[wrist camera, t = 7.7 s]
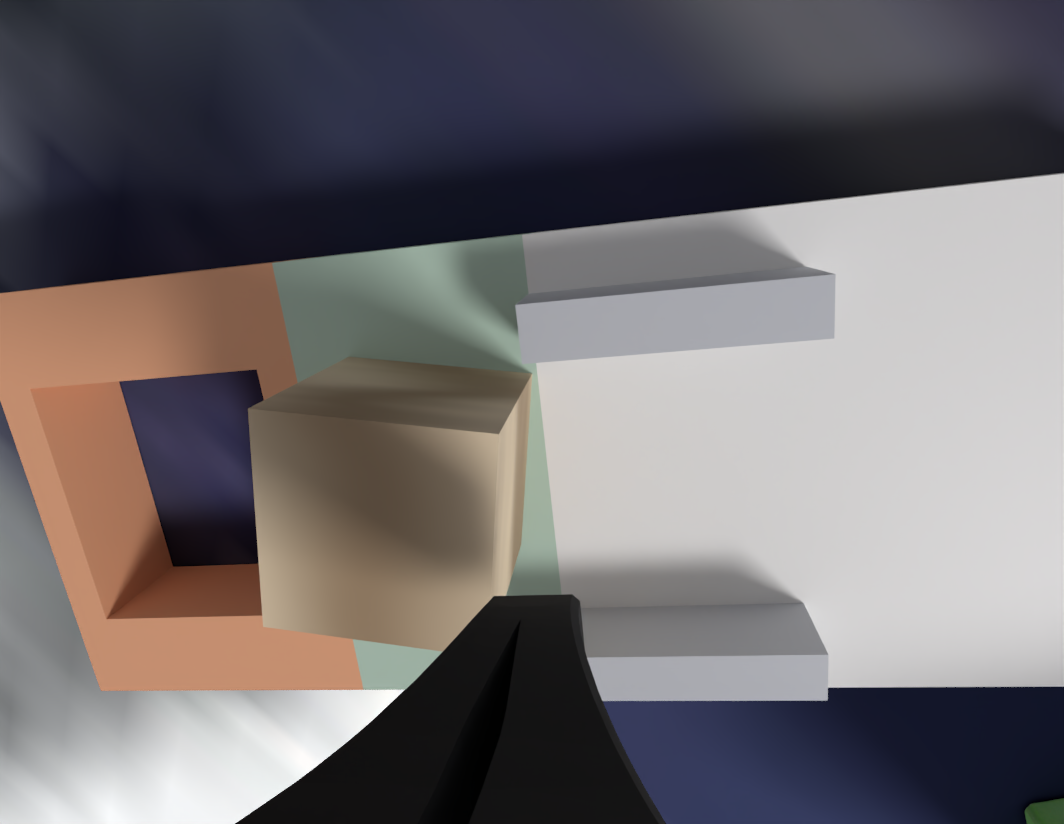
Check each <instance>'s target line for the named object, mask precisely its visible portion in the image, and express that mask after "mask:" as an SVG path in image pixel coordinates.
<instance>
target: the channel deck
mask: <svg viewBox="0 0 1064 824" xmlns="http://www.w3.org/2000/svg"><path fill="white" fill-rule="evenodd" d="M347 357H358V358H369V359H380V360H391V361H402V362H412V363H423V364H434V365H445V366H456V367H467V368H478V369H489V370H500V371H511V372H522V373H532V386H531V402H530V417H529V433H528V448H527V464H526V479H525V494H524V510H523V525H522V541H521V547H520V550H519V554H518V557H517V560H516V564H515V567H514V570H513V574H512V577H511V581H510V584H509V587H508V591H507V594H506V596H519V595H563V594H573V595H574V596H575V597H576V598H577V599H578V600H579V601H580V605H581V615H582V625H583V635H584V645H585V652H586V656H587V659H588V662H589V665H590V668H591V671H592V674H593V677H594V680H595V683H596V686H597V689H598V691H599V694H600V696H601V699H602V701H828V688H849V687H1064V173H1056V174H1047V175H1038V176H1029V177H1020V178H1011V179H1003V180H994V181H985V182H976V183H967V184H958V185H949V186H941V187H932V188H923V189H914V190H905V191H896V192H887V193H879V194H870V195H861V196H852V197H843V198H834V199H825V200H817V201H808V202H799V203H790V204H781V205H772V206H763V207H755V208H746V209H737V210H728V211H719V212H710V213H701V214H693V215H684V216H675V217H666V218H657V219H648V220H639V221H631V222H622V223H613V224H604V225H595V226H586V227H577V228H569V229H560V230H551V231H542V232H533V233H524V234H515V235H507V236H498V237H489V238H480V239H471V240H462V241H453V242H445V243H436V244H427V245H418V246H409V247H400V248H391V249H383V250H374V251H365V252H356V253H347V254H338V255H329V256H321V257H312V258H303V259H294V260H285V261H276V262H267V263H259V264H250V265H241V266H232V267H223V268H214V269H205V270H196V271H188V272H179V273H170V274H161V275H152V276H143V277H134V278H126V279H117V280H108V281H99V282H90V283H81V284H72V285H64V286H55V287H47V288H39V289H31V290H22V291H14V292H6V293H0V401H1V404H2V406H3V409H4V412H5V415H6V418H7V421H8V424H9V427H10V430H11V432H12V435H13V438H14V441H15V444H16V447H17V450H18V453H19V456H20V458H21V461H22V464H23V467H24V470H25V473H26V476H27V479H28V482H29V484H30V487H31V490H32V493H33V496H34V499H35V502H36V505H37V508H38V510H39V513H40V516H41V519H42V522H43V525H44V528H45V531H46V534H47V536H48V539H49V542H50V545H51V548H52V551H53V554H54V557H55V559H56V562H57V565H58V568H59V571H60V574H61V577H62V580H63V583H64V585H65V588H66V591H67V594H68V597H69V600H70V603H71V606H72V609H73V611H74V614H75V617H76V620H77V623H78V626H79V629H80V632H81V635H82V637H83V640H84V643H85V646H86V649H87V652H88V655H89V658H90V661H91V663H92V666H93V669H94V672H95V675H96V678H97V681H98V684H99V687H100V689H101V691H153V690H385V689H407V688H408V687H409V686H410V685H411V684H412V683H413V682H414V681H415V680H416V679H417V678H418V677H419V676H420V675H421V674H422V673H423V672H424V671H425V670H426V669H427V667H428V666H429V665H430V664H431V663H432V662H433V661H434V660H435V659H436V658H437V657H438V656H439V655H440V654H441V653H442V651H435V650H428V649H420V648H413V647H406V646H399V645H391V644H384V643H377V642H370V641H362V640H355V639H348V638H341V637H333V636H326V635H319V634H312V633H305V632H297V631H290V630H283V629H276V628H268V627H263V618H262V604H261V590H260V575H259V564H237V565H209V566H182V567H173V565H172V561H171V558H170V554H169V551H168V548H167V544H166V541H165V537H164V534H163V530H162V527H161V524H160V520H159V517H158V513H157V510H156V506H155V503H154V500H153V496H152V493H151V489H150V486H149V482H148V479H147V476H146V472H145V469H144V465H143V462H142V459H141V455H140V452H139V448H138V445H137V441H136V438H135V435H134V431H133V428H132V424H131V421H130V417H129V414H128V411H127V407H126V404H125V400H124V397H123V393H122V390H121V387H120V383H119V381H128V380H140V379H151V378H163V377H175V376H186V375H198V374H210V373H221V372H233V371H244V370H256V369H257V373H258V377H259V381H260V386H261V390H262V394H263V399H264V400H266V399H268V398H269V397H271V396H273V395H275V394H277V393H279V392H281V391H283V390H285V389H287V388H289V387H291V386H293V385H295V384H297V383H299V382H300V381H302V380H304V379H306V378H308V377H310V376H312V375H314V374H316V373H318V372H320V371H322V370H324V369H326V368H328V367H330V366H332V365H333V364H335V363H337V362H339V361H341V360H343V359H345V358H347Z"/></svg>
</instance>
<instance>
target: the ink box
mask: <svg viewBox="0 0 1064 824" xmlns="http://www.w3.org/2000/svg"><path fill="white" fill-rule="evenodd" d="M1025 817H1026V822H1027V824H1064V798H1061V799H1055V800H1050V801H1044V802H1037V803H1032V804H1030V805H1029V806H1028V807H1027V808H1026V809H1025Z"/></svg>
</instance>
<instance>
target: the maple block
mask: <svg viewBox="0 0 1064 824" xmlns="http://www.w3.org/2000/svg"><path fill="white" fill-rule="evenodd" d="M531 386H532V373H522V372H511V371H500V370H489V369H478V368H467V367H456V366H445V365H434V364H423V363H412V362H402V361H391V360H380V359H369V358H358V357H347V358H345V359H343V360H341V361H339V362H337V363H335V364H333V365H332V366H330V367H328V368H326V369H324V370H322V371H320V372H318V373H316V374H314V375H312V376H310V377H308V378H306V379H304V380H302V381H300V382H299V383H297V384H295V385H293V386H291V387H289V388H287V389H285V390H283V391H281V392H279V393H277V394H275V395H273V396H271V397H269V398H268V399H266V400H264V401H262V402H260V403H258V404H256V405H254V406H252V407H250V408H248V417H249V432H250V446H251V460H252V475H253V489H254V504H255V518H256V532H257V547H258V561H259V575H260V590H261V604H262V618H263V627H268V628H276V629H283V630H290V631H297V632H305V633H312V634H319V635H326V636H333V637H341V638H348V639H355V640H362V641H370V642H377V643H384V644H391V645H399V646H406V647H413V648H420V649H428V650H435V651H442V652H443V651H444V650H445V649H446V648H447V646H448V645H449V644H450V643H451V642H452V641H453V640H454V639H455V638H456V637H457V636H458V634H459V633H460V632H461V631H462V630H463V629H464V628H465V627H466V626H467V624H468V623H469V622H470V621H471V620H472V619H473V618H474V617H475V616H476V615H477V613H478V612H479V611H480V610H481V609H482V608H483V607H484V606H485V605H486V604H487V603H488V602H489V601H490V600H491V599H492V598H493V597H494V596H506V594H507V591H508V587H509V584H510V581H511V577H512V574H513V570H514V567H515V564H516V560H517V557H518V554H519V550H520V547H521V541H522V525H523V510H524V494H525V479H526V464H527V448H528V433H529V417H530V402H531Z"/></svg>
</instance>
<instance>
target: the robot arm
mask: <svg viewBox="0 0 1064 824" xmlns="http://www.w3.org/2000/svg"><path fill="white" fill-rule="evenodd" d="M236 824H666V823H665V821H664V820H663V818H662V816H661V815H660V813H659V811H658V810H657V808H656V806H655V805H654V803H653V801H652V800H651V798H650V796H649V794H648V793H647V791H646V789H645V788H644V786H643V784H642V782H641V780H640V778H639V777H638V775H637V773H636V771H635V769H634V767H633V766H632V764H631V762H630V760H629V758H628V756H627V754H626V752H625V750H624V748H623V746H622V744H621V742H620V740H619V738H618V736H617V733H616V731H615V729H614V727H613V725H612V722H611V720H610V718H609V715H608V713H607V711H606V709H605V706H604V704H603V701H602V699H601V696H600V694H599V691H598V689H597V686H596V683H595V680H594V677H593V674H592V671H591V668H590V665H589V662H588V659H587V656H586V652H585V645H584V635H583V625H582V615H581V605H580V601H579V600H578V599H577V598H576V597H575V596H574V595H573V594H563V595H519V596H494V597H493V598H492V599H491V600H490V601H489V602H488V603H487V604H486V605H485V606H484V607H483V608H482V609H481V610H480V611H479V612H478V613H477V615H476V616H475V617H474V618H473V619H472V620H471V621H470V622H469V623H468V624H467V626H466V627H465V628H464V629H463V630H462V631H461V632H460V633H459V634H458V636H457V637H456V638H455V639H454V640H453V641H452V642H451V643H450V644H449V645H448V646H447V648H446V649H445V650H444V651H443V652H442V653H441V654H440V655H439V656H438V657H437V658H436V659H435V660H434V661H433V662H432V663H431V664H430V665H429V666H428V667H427V669H426V670H425V671H424V672H423V673H422V674H421V675H420V676H419V677H418V678H417V679H416V680H415V681H414V682H413V683H412V684H411V685H410V686H409V687H408V688H407V689H405V690H404V691H403V692H402V693H401V694H400V695H399V696H398V697H397V698H396V699H395V700H394V701H393V702H392V703H391V704H390V705H389V706H388V707H386V708H385V709H384V710H383V711H382V712H381V713H380V714H379V715H378V716H377V717H376V718H375V719H374V720H373V721H371V722H370V723H369V724H368V725H367V726H366V727H365V728H363V729H362V730H361V731H360V732H359V733H358V734H356V735H355V736H354V737H353V738H352V739H350V740H349V741H348V742H347V743H346V744H344V745H343V746H342V747H341V748H339V749H338V750H337V751H336V752H334V753H333V754H332V755H331V756H329V757H328V758H327V759H325V760H324V761H323V762H322V763H320V764H319V765H318V766H317V767H315V768H314V769H313V770H312V771H310V772H309V773H308V774H306V775H305V776H304V777H302V778H301V779H299V780H298V781H297V782H295V783H294V784H293V785H291V786H290V787H288V788H287V789H285V790H284V791H282V792H281V793H279V794H278V795H277V796H275V797H274V798H272V799H271V800H269V801H268V802H266V803H265V804H263V805H262V806H260V807H259V808H258V809H256V810H255V811H253V812H252V813H250V814H249V815H247V816H246V817H244V818H243V819H242V820H240V821H239V822H237V823H236Z"/></svg>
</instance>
